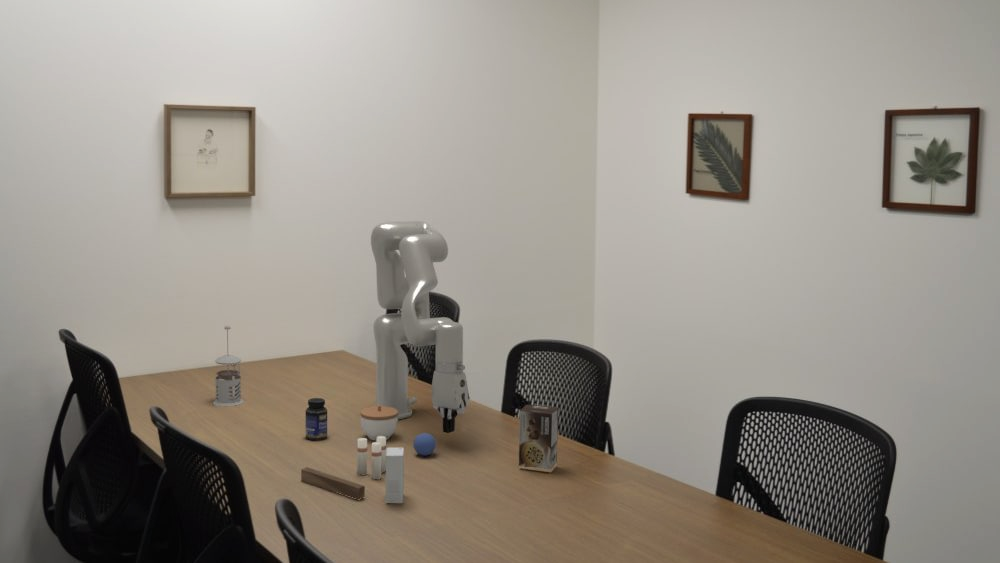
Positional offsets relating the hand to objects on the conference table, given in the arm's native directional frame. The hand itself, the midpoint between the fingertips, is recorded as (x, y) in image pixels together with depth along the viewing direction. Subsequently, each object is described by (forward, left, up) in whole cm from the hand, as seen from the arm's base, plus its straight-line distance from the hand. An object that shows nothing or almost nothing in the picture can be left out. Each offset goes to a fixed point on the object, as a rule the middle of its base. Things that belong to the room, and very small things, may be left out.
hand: (448, 431), depth 268 cm
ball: (+9, -1, -2) cm, 9 cm away
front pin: (+26, -1, -5) cm, 27 cm away
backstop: (+43, -1, -5) cm, 43 cm away
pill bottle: (+18, -34, -5) cm, 39 cm away
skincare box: (+38, +15, -5) cm, 41 cm away
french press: (+11, -82, -5) cm, 83 cm away
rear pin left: (+31, +2, -5) cm, 31 cm away
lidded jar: (+6, -21, -5) cm, 22 cm away
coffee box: (-3, +28, -5) cm, 29 cm away
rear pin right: (+31, -3, -5) cm, 31 cm away
